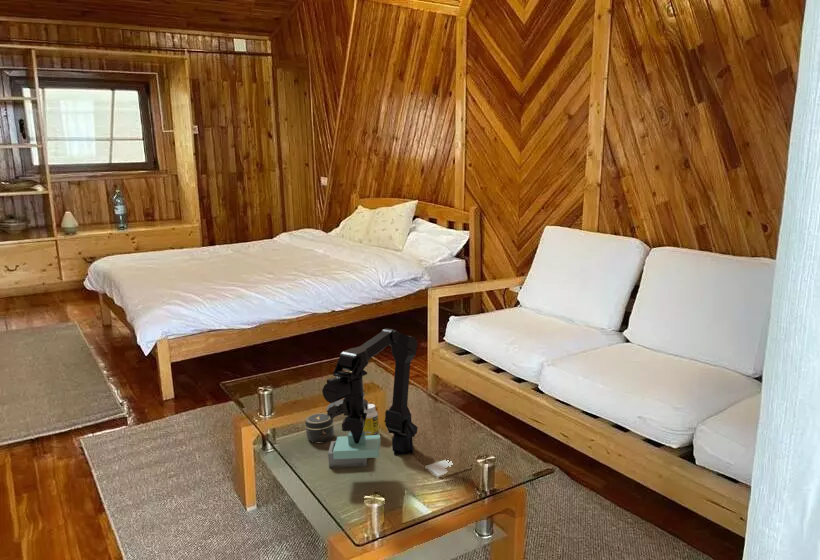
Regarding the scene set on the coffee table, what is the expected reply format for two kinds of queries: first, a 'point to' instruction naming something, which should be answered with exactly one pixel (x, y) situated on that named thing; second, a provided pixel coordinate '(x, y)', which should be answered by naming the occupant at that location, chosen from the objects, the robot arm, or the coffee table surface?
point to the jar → (319, 427)
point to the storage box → (344, 460)
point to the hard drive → (439, 467)
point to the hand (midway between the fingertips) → (357, 441)
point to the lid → (357, 447)
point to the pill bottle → (371, 421)
